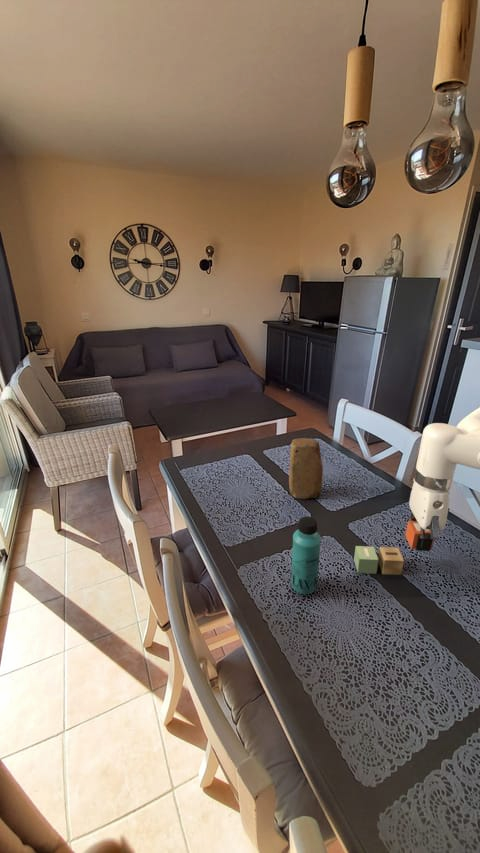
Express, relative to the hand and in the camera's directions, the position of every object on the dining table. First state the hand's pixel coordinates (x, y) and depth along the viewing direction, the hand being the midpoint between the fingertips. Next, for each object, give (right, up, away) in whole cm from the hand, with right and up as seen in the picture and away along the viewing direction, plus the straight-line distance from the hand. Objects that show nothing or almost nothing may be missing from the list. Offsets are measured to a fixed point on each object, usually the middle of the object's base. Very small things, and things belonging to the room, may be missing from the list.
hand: (418, 541), depth 88 cm
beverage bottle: (-28, -11, -1) cm, 30 cm away
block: (-21, +5, +35) cm, 41 cm away
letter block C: (0, 0, 0) cm, 0 cm away
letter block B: (-11, -8, +5) cm, 15 cm away
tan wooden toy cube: (-6, -8, +4) cm, 10 cm away
